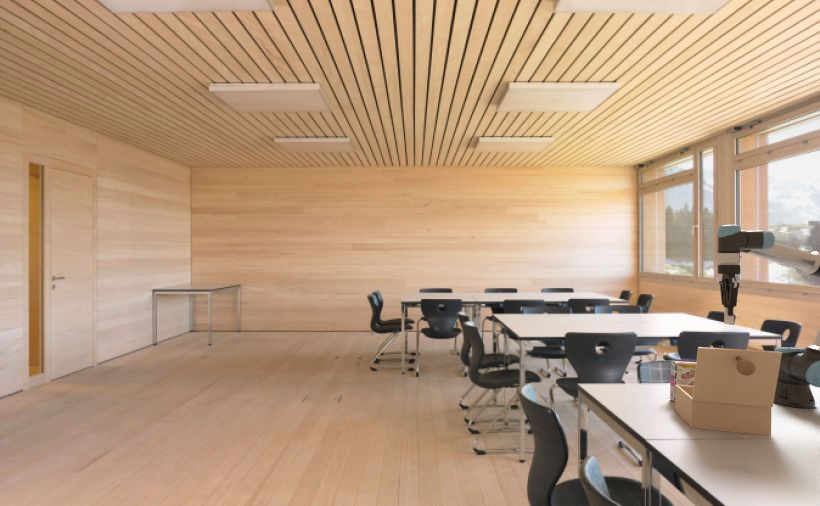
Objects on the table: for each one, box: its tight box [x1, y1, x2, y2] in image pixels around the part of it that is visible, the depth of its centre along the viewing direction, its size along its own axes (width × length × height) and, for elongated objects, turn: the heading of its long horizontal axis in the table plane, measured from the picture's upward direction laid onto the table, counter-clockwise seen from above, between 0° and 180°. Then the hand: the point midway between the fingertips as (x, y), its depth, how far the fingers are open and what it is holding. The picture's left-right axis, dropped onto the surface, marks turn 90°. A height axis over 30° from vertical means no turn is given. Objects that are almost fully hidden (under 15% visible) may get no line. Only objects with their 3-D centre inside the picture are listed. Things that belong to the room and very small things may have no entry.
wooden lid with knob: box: [692, 346, 782, 408], centre depth 156 cm, size 24×20×9 cm
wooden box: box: [674, 385, 772, 436], centre depth 173 cm, size 24×20×10 cm
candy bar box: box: [669, 360, 696, 403], centre depth 197 cm, size 11×5×16 cm, turn 84°
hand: (728, 323), depth 188 cm, fingers closed
